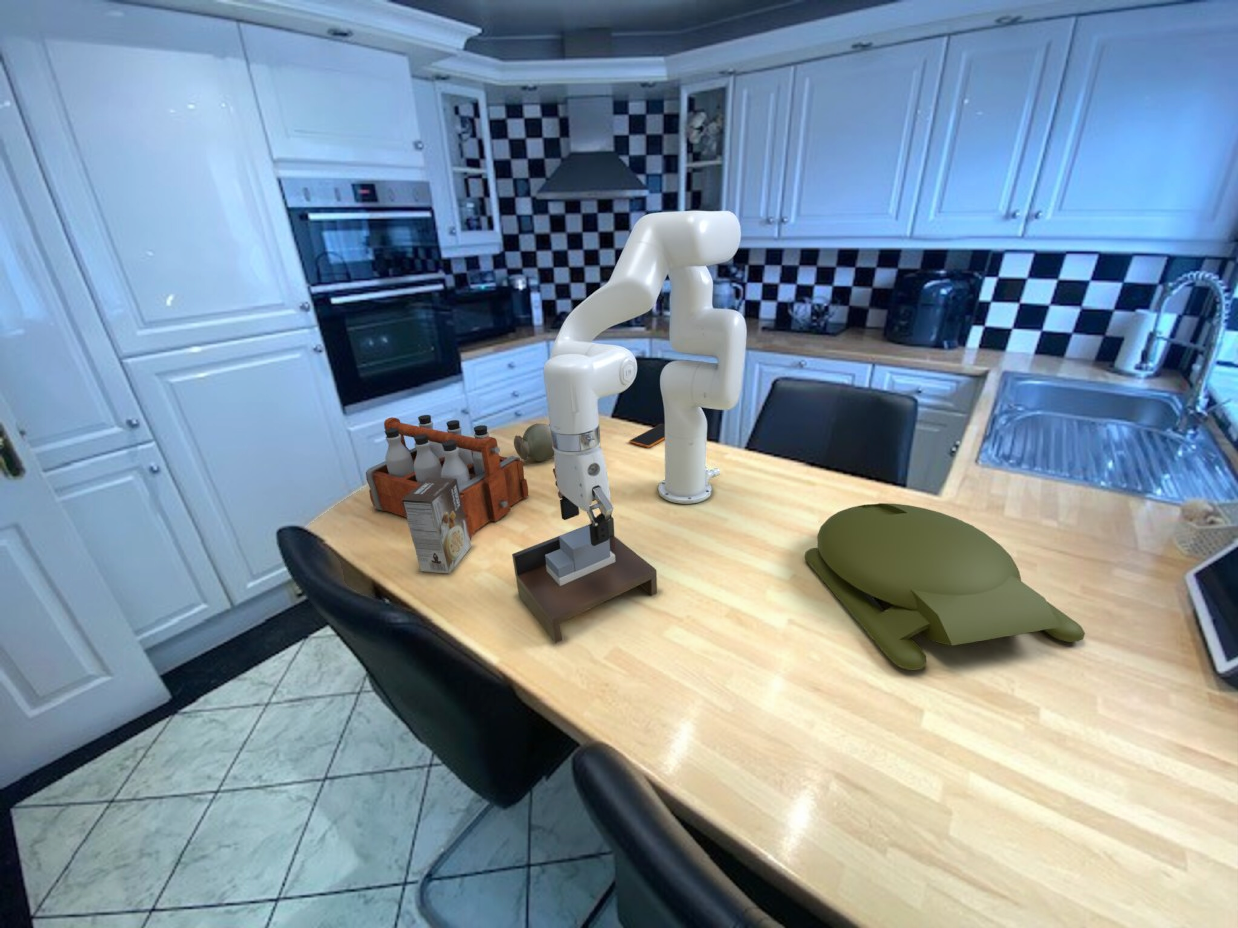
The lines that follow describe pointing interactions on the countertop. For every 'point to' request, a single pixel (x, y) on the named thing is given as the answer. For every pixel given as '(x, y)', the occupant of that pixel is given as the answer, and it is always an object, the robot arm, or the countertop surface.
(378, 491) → the milk bottle holder
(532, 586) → the shelf rack
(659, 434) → the smartphone
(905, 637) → the spaceship
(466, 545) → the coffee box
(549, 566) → the stepped grey block
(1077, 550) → the countertop surface
